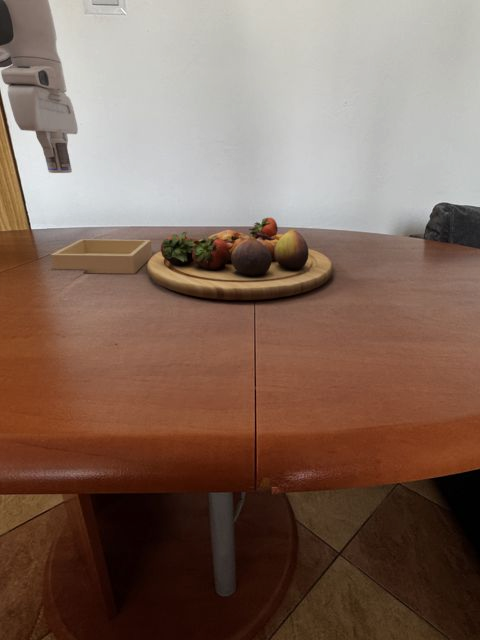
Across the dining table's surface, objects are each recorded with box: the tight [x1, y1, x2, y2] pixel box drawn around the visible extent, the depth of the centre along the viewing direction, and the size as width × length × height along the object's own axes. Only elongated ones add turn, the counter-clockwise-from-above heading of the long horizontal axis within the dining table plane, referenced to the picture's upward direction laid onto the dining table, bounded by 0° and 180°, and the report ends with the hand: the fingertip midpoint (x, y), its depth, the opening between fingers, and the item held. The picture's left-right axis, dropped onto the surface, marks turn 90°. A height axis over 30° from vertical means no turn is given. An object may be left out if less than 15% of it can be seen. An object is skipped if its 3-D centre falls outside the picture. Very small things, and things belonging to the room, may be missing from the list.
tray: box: [50, 238, 154, 275], centre depth 69 cm, size 14×13×3 cm
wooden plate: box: [146, 217, 334, 301], centre depth 65 cm, size 32×32×8 cm
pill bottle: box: [44, 129, 73, 174], centre depth 82 cm, size 5×5×8 cm
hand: (57, 157), depth 82 cm, fingers closed on pill bottle, 5 cm apart
